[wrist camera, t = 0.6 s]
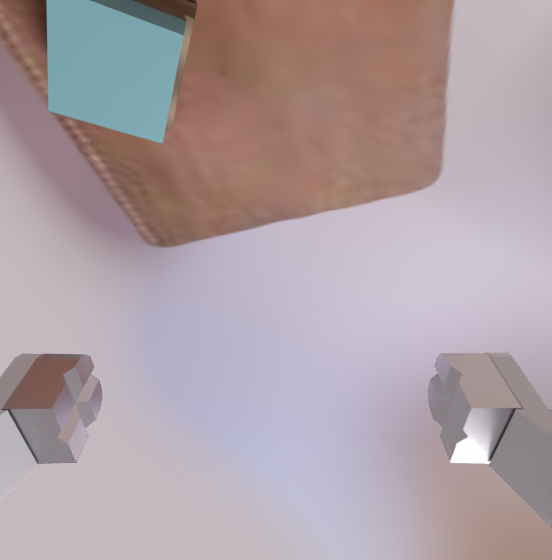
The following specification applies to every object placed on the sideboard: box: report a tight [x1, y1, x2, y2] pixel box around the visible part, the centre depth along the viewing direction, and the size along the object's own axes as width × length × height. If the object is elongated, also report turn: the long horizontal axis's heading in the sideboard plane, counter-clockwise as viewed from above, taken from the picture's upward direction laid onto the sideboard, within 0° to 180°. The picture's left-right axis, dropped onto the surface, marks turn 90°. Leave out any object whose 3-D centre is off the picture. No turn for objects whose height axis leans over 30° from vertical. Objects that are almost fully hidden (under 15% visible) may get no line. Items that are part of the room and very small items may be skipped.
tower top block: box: [47, 0, 187, 143], centre depth 40 cm, size 11×11×4 cm
